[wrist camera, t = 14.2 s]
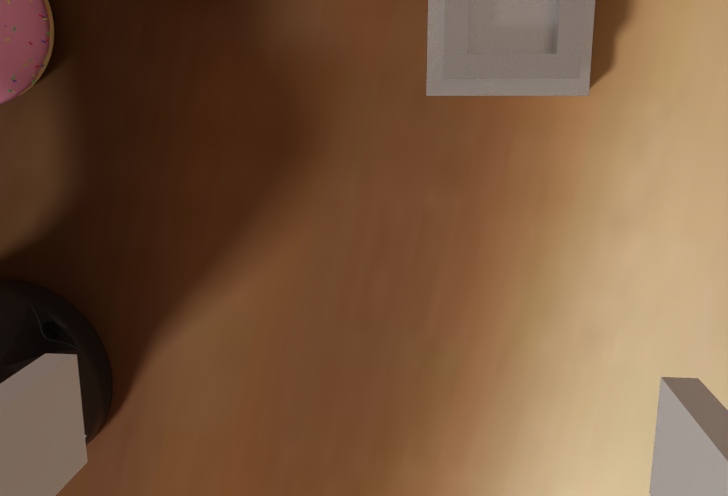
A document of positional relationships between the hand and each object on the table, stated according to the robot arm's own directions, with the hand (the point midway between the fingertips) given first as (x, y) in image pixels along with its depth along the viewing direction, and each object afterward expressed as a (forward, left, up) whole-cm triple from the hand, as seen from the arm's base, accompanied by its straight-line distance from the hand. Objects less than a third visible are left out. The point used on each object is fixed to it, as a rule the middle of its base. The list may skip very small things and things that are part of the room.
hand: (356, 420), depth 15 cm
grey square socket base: (+6, +12, -33) cm, 35 cm away
